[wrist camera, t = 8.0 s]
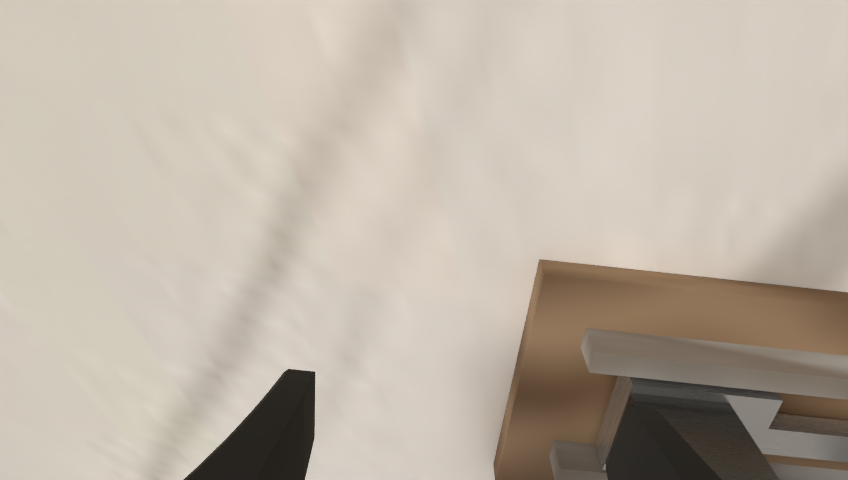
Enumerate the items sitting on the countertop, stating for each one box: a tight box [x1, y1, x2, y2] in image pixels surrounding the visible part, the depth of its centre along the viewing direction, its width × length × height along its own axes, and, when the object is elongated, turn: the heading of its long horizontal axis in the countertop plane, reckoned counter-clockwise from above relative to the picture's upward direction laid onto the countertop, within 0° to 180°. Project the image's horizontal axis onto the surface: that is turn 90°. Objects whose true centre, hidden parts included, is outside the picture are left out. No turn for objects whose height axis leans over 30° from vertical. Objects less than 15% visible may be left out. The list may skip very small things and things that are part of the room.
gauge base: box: [494, 259, 848, 480], centre depth 22 cm, size 12×19×6 cm, turn 84°
